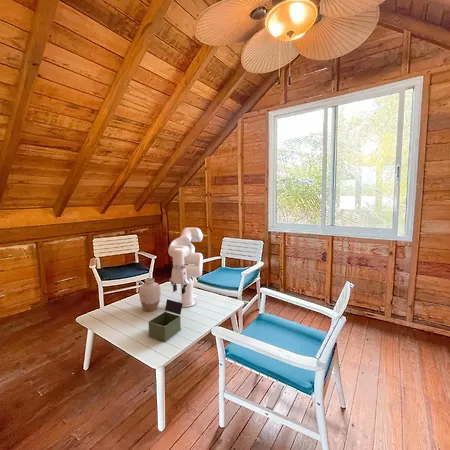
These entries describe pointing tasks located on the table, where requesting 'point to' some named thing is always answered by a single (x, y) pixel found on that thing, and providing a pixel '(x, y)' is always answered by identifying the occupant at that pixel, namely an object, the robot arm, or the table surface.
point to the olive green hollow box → (170, 324)
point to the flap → (173, 307)
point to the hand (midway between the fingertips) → (179, 292)
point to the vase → (150, 294)
